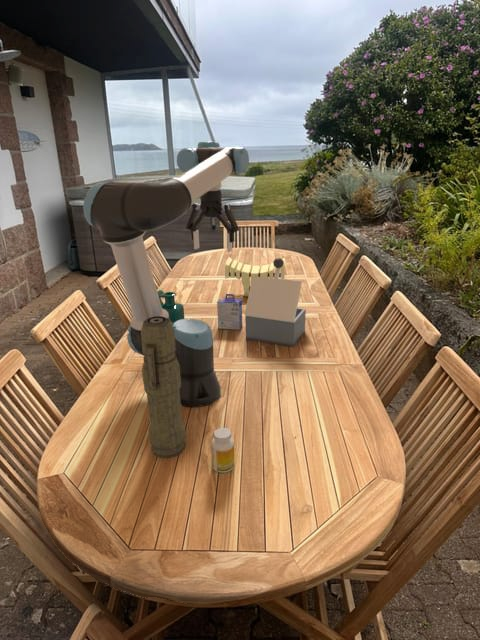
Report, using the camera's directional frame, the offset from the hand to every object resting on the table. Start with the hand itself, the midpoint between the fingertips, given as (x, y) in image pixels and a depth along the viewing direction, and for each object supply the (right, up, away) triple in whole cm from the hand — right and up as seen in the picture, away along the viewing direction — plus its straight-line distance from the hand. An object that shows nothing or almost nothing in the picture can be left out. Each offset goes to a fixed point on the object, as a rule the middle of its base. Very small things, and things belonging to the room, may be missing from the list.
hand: (213, 250), depth 154 cm
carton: (+25, -32, +18) cm, 44 cm away
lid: (+24, -14, +9) cm, 29 cm away
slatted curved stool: (+18, -12, +69) cm, 73 cm away
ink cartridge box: (+6, -29, +27) cm, 40 cm away
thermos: (-8, -58, -47) cm, 75 cm away
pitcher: (-17, -36, +10) cm, 41 cm away
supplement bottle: (+6, -61, -54) cm, 81 cm away
